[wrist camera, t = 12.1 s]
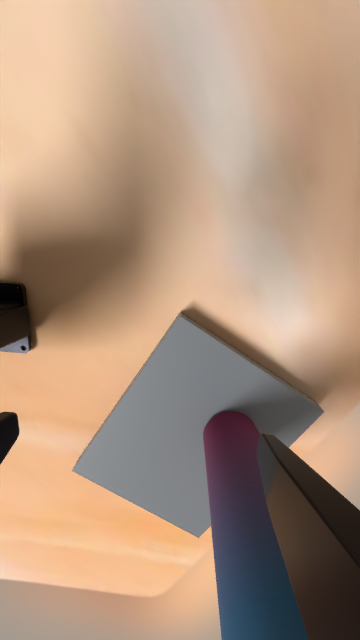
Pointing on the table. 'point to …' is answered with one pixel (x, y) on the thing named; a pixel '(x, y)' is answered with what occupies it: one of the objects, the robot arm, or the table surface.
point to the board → (186, 422)
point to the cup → (246, 538)
